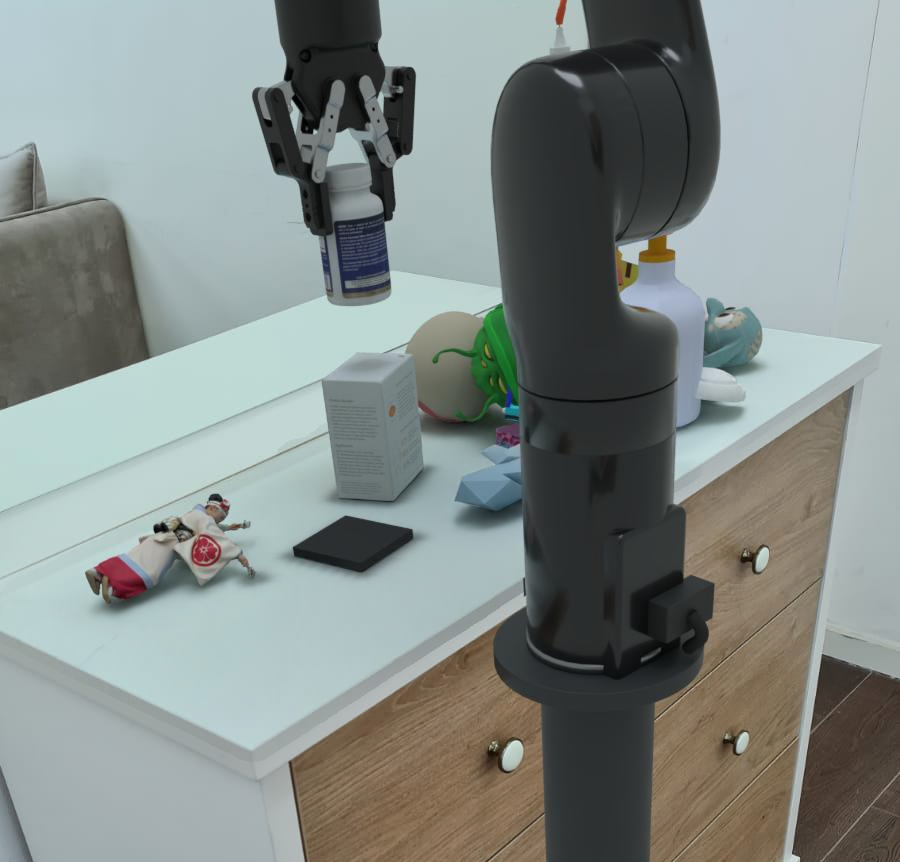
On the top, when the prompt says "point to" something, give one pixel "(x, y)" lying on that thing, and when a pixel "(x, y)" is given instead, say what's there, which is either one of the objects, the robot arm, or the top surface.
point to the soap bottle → (673, 317)
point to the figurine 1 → (172, 552)
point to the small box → (374, 425)
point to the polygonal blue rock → (494, 480)
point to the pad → (353, 543)
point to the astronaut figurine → (719, 386)
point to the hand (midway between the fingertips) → (352, 226)
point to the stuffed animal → (730, 335)
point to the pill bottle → (354, 239)
